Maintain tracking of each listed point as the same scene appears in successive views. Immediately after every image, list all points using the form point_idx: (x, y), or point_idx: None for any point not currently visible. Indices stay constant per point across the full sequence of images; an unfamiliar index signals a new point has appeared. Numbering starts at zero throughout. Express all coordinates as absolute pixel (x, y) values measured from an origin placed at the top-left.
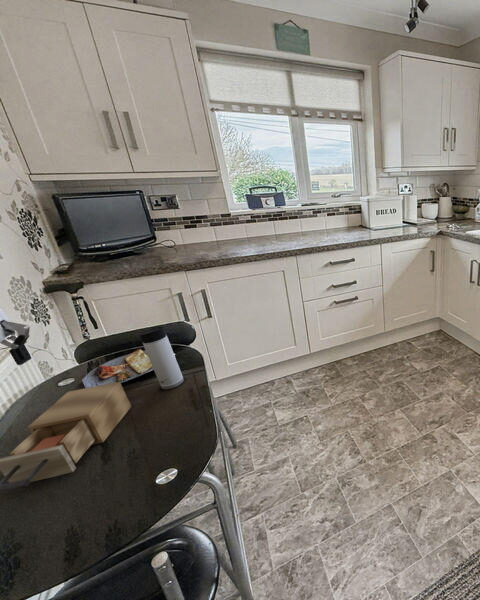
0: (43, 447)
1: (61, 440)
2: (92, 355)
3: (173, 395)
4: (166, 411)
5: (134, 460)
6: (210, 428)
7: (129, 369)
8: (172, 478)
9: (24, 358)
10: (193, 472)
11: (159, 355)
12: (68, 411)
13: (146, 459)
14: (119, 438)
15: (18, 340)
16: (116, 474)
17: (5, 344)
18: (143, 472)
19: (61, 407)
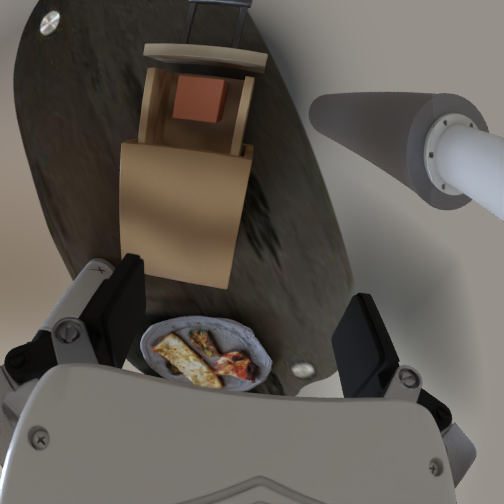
0: (200, 85)
1: (153, 74)
2: None
3: (85, 231)
4: (77, 182)
5: (88, 59)
6: (15, 105)
7: (207, 359)
8: (44, 18)
9: (106, 278)
10: (27, 25)
11: (59, 305)
12: (178, 185)
13: (73, 57)
14: (127, 130)
15: (34, 356)
16: (105, 36)
17: (90, 362)
18: (73, 32)
19: (206, 217)
